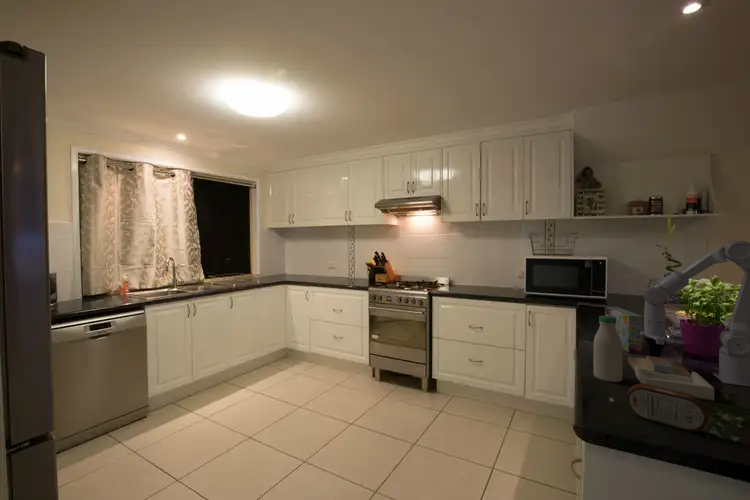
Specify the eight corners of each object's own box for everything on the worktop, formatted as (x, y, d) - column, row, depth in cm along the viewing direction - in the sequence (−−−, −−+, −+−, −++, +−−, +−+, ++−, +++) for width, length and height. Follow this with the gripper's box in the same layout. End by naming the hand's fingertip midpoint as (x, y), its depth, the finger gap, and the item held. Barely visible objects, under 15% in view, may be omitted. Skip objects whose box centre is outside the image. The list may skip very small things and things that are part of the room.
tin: (708, 433, 77) (708, 396, 77) (709, 438, 75) (709, 401, 74) (627, 410, 87) (627, 378, 87) (625, 415, 85) (625, 382, 85)
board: (677, 367, 117) (677, 362, 117) (693, 382, 104) (693, 376, 104) (628, 361, 123) (628, 356, 123) (637, 375, 111) (637, 369, 111)
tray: (695, 383, 104) (695, 372, 104) (714, 400, 92) (714, 388, 92) (635, 375, 111) (635, 364, 111) (645, 390, 99) (645, 378, 99)
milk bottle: (627, 383, 104) (627, 319, 104) (599, 381, 106) (599, 318, 105) (615, 374, 112) (615, 314, 111) (589, 372, 113) (589, 313, 113)
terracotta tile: (664, 363, 115) (664, 357, 115) (669, 368, 111) (669, 362, 111) (646, 361, 118) (646, 355, 118) (649, 365, 113) (649, 360, 113)
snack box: (644, 354, 132) (644, 316, 131) (627, 353, 133) (627, 315, 133) (618, 339, 152) (618, 306, 152) (604, 338, 154) (604, 306, 153)
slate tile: (669, 368, 111) (669, 362, 111) (673, 373, 107) (673, 367, 107) (649, 365, 113) (649, 360, 113) (654, 370, 109) (654, 364, 109)
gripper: (635, 316, 126) (635, 352, 126) (645, 324, 113) (645, 364, 113) (659, 317, 122) (659, 354, 122) (672, 326, 109) (672, 367, 110)
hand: (654, 359), depth 117 cm, fingers closed
